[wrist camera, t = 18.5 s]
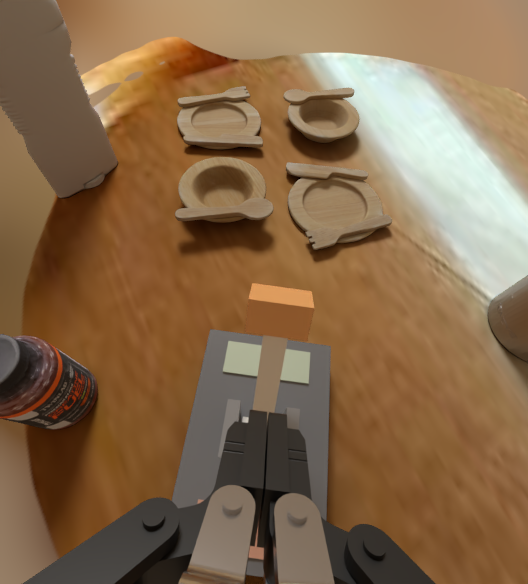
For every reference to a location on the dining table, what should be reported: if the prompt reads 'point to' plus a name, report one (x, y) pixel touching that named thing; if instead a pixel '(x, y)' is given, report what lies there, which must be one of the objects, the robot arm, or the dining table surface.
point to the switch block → (239, 401)
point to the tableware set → (314, 179)
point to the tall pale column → (50, 98)
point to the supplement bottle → (42, 384)
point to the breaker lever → (275, 334)
